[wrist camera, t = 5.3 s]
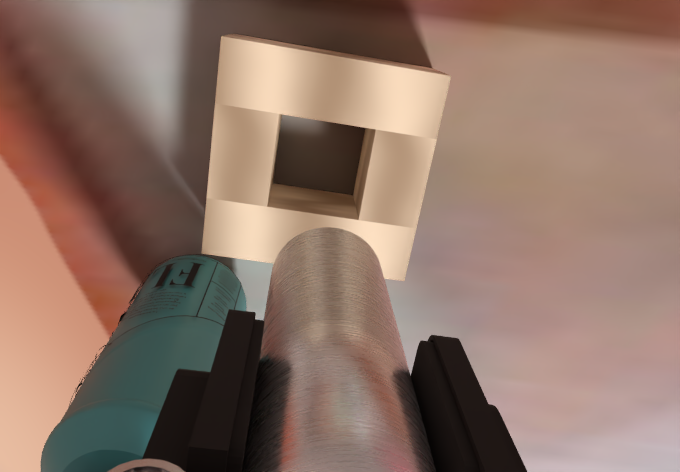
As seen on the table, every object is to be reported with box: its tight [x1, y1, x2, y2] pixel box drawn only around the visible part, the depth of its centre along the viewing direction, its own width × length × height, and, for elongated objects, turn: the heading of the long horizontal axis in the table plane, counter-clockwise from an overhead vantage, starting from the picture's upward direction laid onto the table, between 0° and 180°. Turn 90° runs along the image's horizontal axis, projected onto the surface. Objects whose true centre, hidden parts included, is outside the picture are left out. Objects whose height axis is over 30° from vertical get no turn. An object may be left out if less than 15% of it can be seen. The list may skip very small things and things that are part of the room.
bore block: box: [201, 34, 451, 281], centre depth 31 cm, size 11×11×4 cm
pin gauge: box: [242, 227, 436, 472], centre depth 10 cm, size 3×3×14 cm
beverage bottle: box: [41, 255, 246, 472], centre depth 27 cm, size 6×7×20 cm
